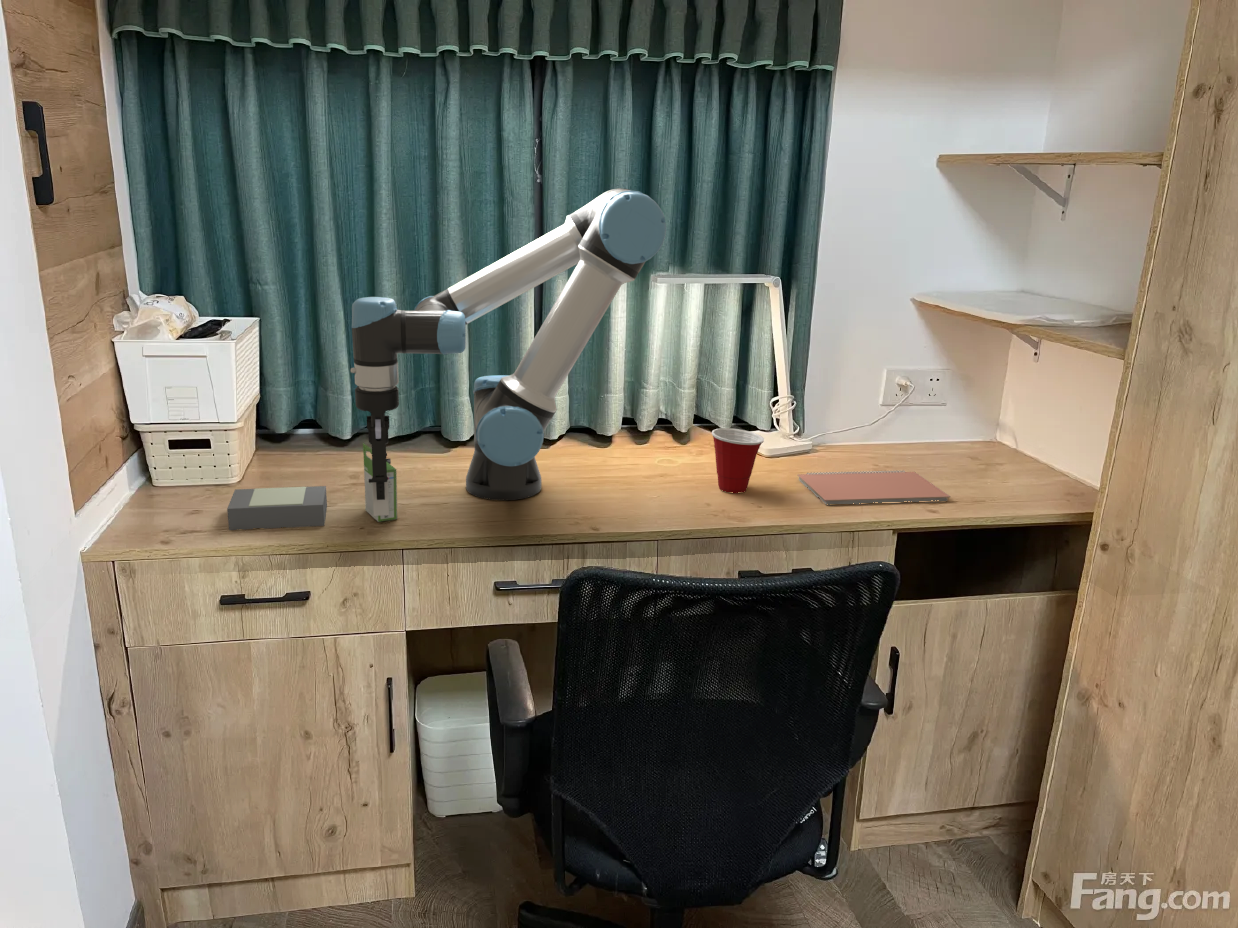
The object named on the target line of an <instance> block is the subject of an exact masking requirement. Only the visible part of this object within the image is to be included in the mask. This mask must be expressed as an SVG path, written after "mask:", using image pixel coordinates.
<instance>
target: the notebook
mask: <svg viewBox="0 0 1238 928" xmlns="http://www.w3.org/2000/svg"><path fill="white" fill-rule="evenodd" d="M797 477H798V481H799V482H800V483H802V485H803V486H804V487H806V488H807V487H808V488H807V489H808V490H809V491H810V490H811V491H812V492H813V493H814V494H815V495H814V496H816V498H818V497H819V498H820V499H821V500H822V501H823V502H824V503H825V504H826V505H825V504H824V503H823V502H822V501H821V500H820V499H819V498H818V499H819V500H820V501H821V502H822V503H823V504H824V505H825V506H831V505H830V504H853V503H854V504H856V505H862V504H861V503H873V502H874V503H875V502H878V503H882V502H904V501H907V502H908V501H910V502H911V501H912V502H919V501H931V500H933V501H935V500H936V501H937V500H939V501H947V502H948V498H952V497H951V496H950V495H949V494H948V493H947V492H944V491H943V490H942V489H940V488H939V487H938V486H936V485H935V484H934V483H931V481H929V480H927V479H926V478H924V477H923V476H922V475H920V474H919V473H917V472H916V471H905V470H904V469H903V470H881V471H880V470H878V471H877V470H875V471H873V470H872V471H870V470H869V471H864V470H863V471H861V470H860V471H838V472H837V471H835V472H834V471H832V472H831V471H829V472H828V471H826V472H825V471H824V472H823V471H822V472H821V471H820V472H806V473H805V474H799V473H797ZM811 491H810V492H811ZM812 492H811V493H812ZM813 493H812V494H813ZM859 503H860V504H859ZM827 504H828V505H827Z"/></svg>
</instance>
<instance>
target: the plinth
mask: <svg viewBox="0 0 1238 928" xmlns="http://www.w3.org/2000/svg"><path fill="white" fill-rule="evenodd" d="M226 510H227V511H226V513H227V521H228V523H227V524H228V530H229V531H235V530H236V531H239V529H243V530H254V529H253V528H264V529H280V528H281V527H282V529H283V527H286V528H300V527H301V528H303V527H304V528H306V527H320V526H321V527H324V526H325V525H326V524H325V523H326V517H327V510H328V500H327V486H326V485H319V486H318V485H317V486H289V487H288V486H287V487H267V488H266V487H260V488H259V487H258V488H241V489H240V488H237V489H234V492H233V494H232V496H231V499H230V500H229V504H228V506H227V508H226ZM237 529H238V530H237Z"/></svg>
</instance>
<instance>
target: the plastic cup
mask: <svg viewBox="0 0 1238 928" xmlns="http://www.w3.org/2000/svg"><path fill="white" fill-rule="evenodd" d="M711 436H712V437H713V443H714V444H713V446H714V453H715V465H716V467H715V468H716V474H717V484H718V489H719V490H720V491H722V490H723V491H722V492H724V491H726V492H725V493H727V492H733V493H732V494H739V493H738V492H743V493H745V492H747V489H748V486H749V482H750V478H751V476H752V474H753V469H754V466H755V461H756V458H757V454H758V453H759V450H760V448H761V447H762V446H761V445H762V444H763V443H764V442H765V437H763V436H762V435H761V434H758V433H755V432H753V431H749V430H745V429H738V428H725V427H724V428H716V429H713V430H712V431H711ZM744 491H745V492H744Z"/></svg>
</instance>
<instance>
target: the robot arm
mask: <svg viewBox="0 0 1238 928" xmlns="http://www.w3.org/2000/svg"><path fill="white" fill-rule="evenodd" d="M666 235H667V222H666V217H665V214H664V212H663V210H662V209H661V207H660V206H659V204H658V203H657V201H655V200H654V199H652V198H651V197H650V196H649V195H648V194H645V193H643V192H642V191H640V190H633V189H628V188H619V187H618V188H613V189H610V190H607V191H605V192H602V194H600V195H598V196H597V197H595V198H594V199H593V200H591V201H590V202H588V203H587V204H585V205H584V206H582V207H580V208H579V209H577V210H575V211H574V212H572V213H570V214H568V215H566V218H565V221H564V223H563V224H562V225H560V226H558V227H556V228H555V229H552V230H551V231H549V232H547V233H545V234H544V235H542V236H540V237H539V238H536V239H535V240H533V241H531V242H529V243H528V244H526V245H524V246H522V247H521V248H518V249H517V250H514V251H513V252H511V253H510V254H507V255H506V256H504V257H502V258H500V259H499V260H497V261H494V262H493V263H491V264H490V265H487V266H485V267H484V268H482V269H480V270H479V271H477V272H475V273H473V274H470V275H469V276H467V277H466V278H464V279H463V280H460V281H459V282H457V283H455V284H453V285H452V286H450V287H448V288H447V289H444V290H442V291H440V292H439V293H436V294H434V295H429V296H427V297H424V298H423V299H421V300H420V301H419V302H418V303H417V304H416V305H415V307H414V309H413V310H401V309H398V306H397V304H396V301H395V299H393V298H391V297H390V298H389V297H381V296H368V297H367V296H366V297H359V298H357V299H355V301H354V302H352V304H351V305H352V306H351V316H352V317H351V335H352V337H351V339H352V353H353V364H354V367H351V368H350V373H351V374H354V384H355V385H356V388H355V389H354V396H355V407H356V408H357V409H358V410H360V411H361V412H362V411H363V412H369V413H370V415H367V416H366V428H367V430H368V443H369V445H371V449H372V454H371V459H372V470H373V477H372V479H369V483H372V487H373V511H374V516H382V515H389V497H388V477H387V464H386V461H387V462H388V463H389V464H390V465H392V461H391V460H392V459H391V458H387V456H388V453H387V445H388V443H389V442H390V441H389V429H390V415H386V412H388V411H389V412H390V411H393V410H396V409H397V408H399V406H400V397H399V396H400V393H399V388H398V386H397V385H398V384H399V383H400V381H399V380H400V379H399V378H400V377H399V361H398V355H399V354H421V355H422V354H426V355H427V354H429V355H431V354H433V355H435V354H437V355H444V356H445V355H450V354H451V355H452V354H462V353H464V351H465V350H466V344H467V343H466V340H467V339H466V336H467V334H466V331H467V330H466V325H468V324H470V323H471V322H473V321H475V320H477V319H478V318H482V316H484V315H486V314H488V313H489V312H490V313H491V312H492V311H493V310H496V309H497V308H500V306H501V307H502V305H504V304H506V303H508V302H510V301H512V300H513V299H516V298H517V297H519V296H520V295H522V294H524V293H527V292H528V291H531V290H532V289H534V288H536V287H538V286H539V285H541V284H543V283H545V282H546V281H549V280H550V279H552V278H554V277H556V276H557V275H559V274H561V273H563V272H566V271H567V270H568V269H570V268H572V267H574V266H575V268H574V269H573V270H572V273H571V275H570V276H569V278H568V280H567V281H566V283H565V284H564V286H563V288H562V290H561V292H560V294H559V295H558V297H557V298H556V301H555V302H554V304H553V305H552V307H551V309H550V310H549V312H548V313H547V316H546V318H545V319H544V321H543V323H542V324H541V325H540V328H539V330H538V331H537V333H536V335H535V336H534V338H533V340H532V342H531V343H530V344H529V347H528V349H527V350H526V352H525V353H524V356H523V357H522V358H521V361H520V362H519V364H518V365H517V367H516V370H515V371H514V373H511V374H510V375H507V374H505V375H504V374H503V375H502V374H501V375H500V374H499V375H484V376H480V377H478V378H476V379H475V381H474V383H473V390H472V393H473V400H474V401H473V403H474V404H473V407H474V408H473V410H474V411H473V414H474V417H473V418H474V419H473V424H474V427H473V428H474V429H473V431H474V432H473V433H474V435H473V436H474V438H473V439H474V440H473V441H474V453H473V455H472V458H471V460H470V464H469V467H468V471H467V473H466V476H465V489H466V491H467V492H468V494H470V495H473V496H474V497H477V498H481V499H484V500H485V499H486V500H490V501H491V500H494V501H514V500H523V499H526V498H531V497H533V496H535V495H537V494H539V492H540V491H541V490H542V475H541V472H540V469H539V466H538V464H537V463H538V462H537V459H536V456H537V455H538V453H539V452H540V450H541V448H542V446H543V443H544V438H545V434H544V433H545V431H546V429H547V427H548V426H549V424H550V423H551V420H552V419H553V417H554V415H555V414H556V412H557V410H558V409H557V405H556V402H555V401H556V400H555V399H556V395H557V394H558V392H559V390H560V389H561V387H562V386H563V384H564V382H565V381H566V379H567V377H568V376H569V374H570V373H571V371H572V369H573V367H574V366H575V364H576V362H577V361H578V359H579V357H580V356H581V354H582V352H583V350H584V349H585V347H586V345H587V344H588V342H589V340H590V339H591V338H592V335H593V334H594V332H595V331H596V329H597V327H598V325H599V324H600V322H601V320H602V318H603V316H604V315H605V313H606V312H607V310H608V309H609V307H610V305H611V303H612V302H613V300H614V298H615V297H616V295H617V294H618V292H619V290H620V288H621V286H622V285H624V284H626V283H631V282H634V281H635V280H636V278H637V277H638V274H639V273H640V272H641V270H642V269H643V267H644V265H645V264H646V262H647V261H649V260H651V259H652V258H653V257H654V256H655V255H657V253H658V252H659V251H660V250H661V248H662V246H663V245H664V242H665V238H666Z"/></svg>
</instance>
